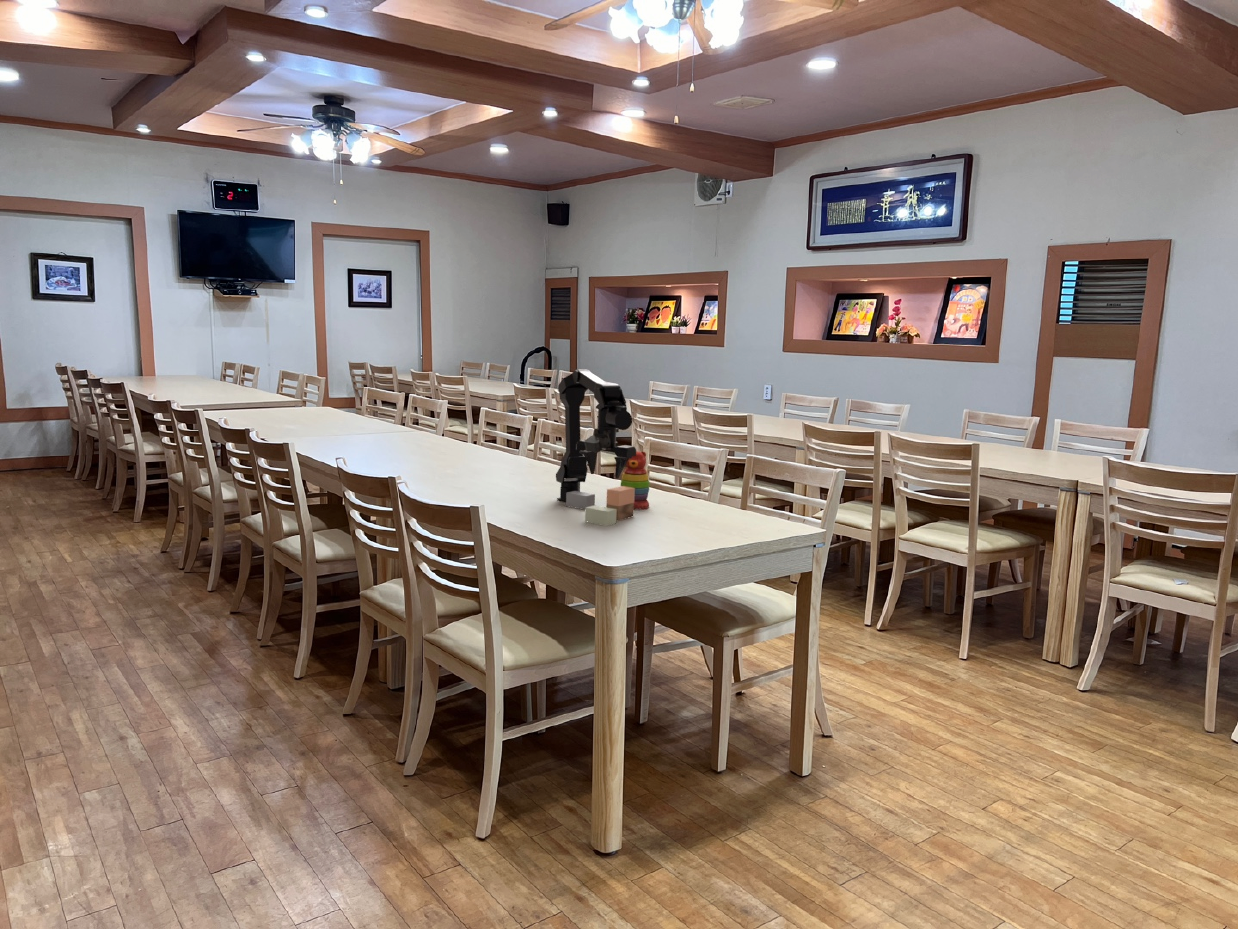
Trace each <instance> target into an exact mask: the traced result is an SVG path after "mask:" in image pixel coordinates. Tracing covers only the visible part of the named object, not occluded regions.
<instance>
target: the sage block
mask: <svg viewBox="0 0 1238 929" xmlns="http://www.w3.org/2000/svg"><path fill="white" fill-rule="evenodd" d="M584 510H585V512H584V514H585V515H584V517H585V518H584V522H585V521H588V522H592V523H591V524H593V523H596V524H595V525H598V524H601V525H600V526H603V525H606V526H605V527H609V525H610V526H612V524H613V525H616V524H617V520H616V512H617V509H612V508H607V507H606V506H600V505H596V504H595V505H594V506H590V507H586V508H585V509H584ZM588 522H587V523H588ZM615 523H616V524H615Z"/></svg>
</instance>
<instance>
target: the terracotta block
mask: <svg viewBox="0 0 1238 929" xmlns="http://www.w3.org/2000/svg"><path fill="white" fill-rule="evenodd" d="M634 496H635V488H631V487H626V486H621V485H620V486H617V487H616V486H615V487H612V488H607V489H606V504H609V505H614V506H622V505H626V504H630V503H634Z"/></svg>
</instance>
